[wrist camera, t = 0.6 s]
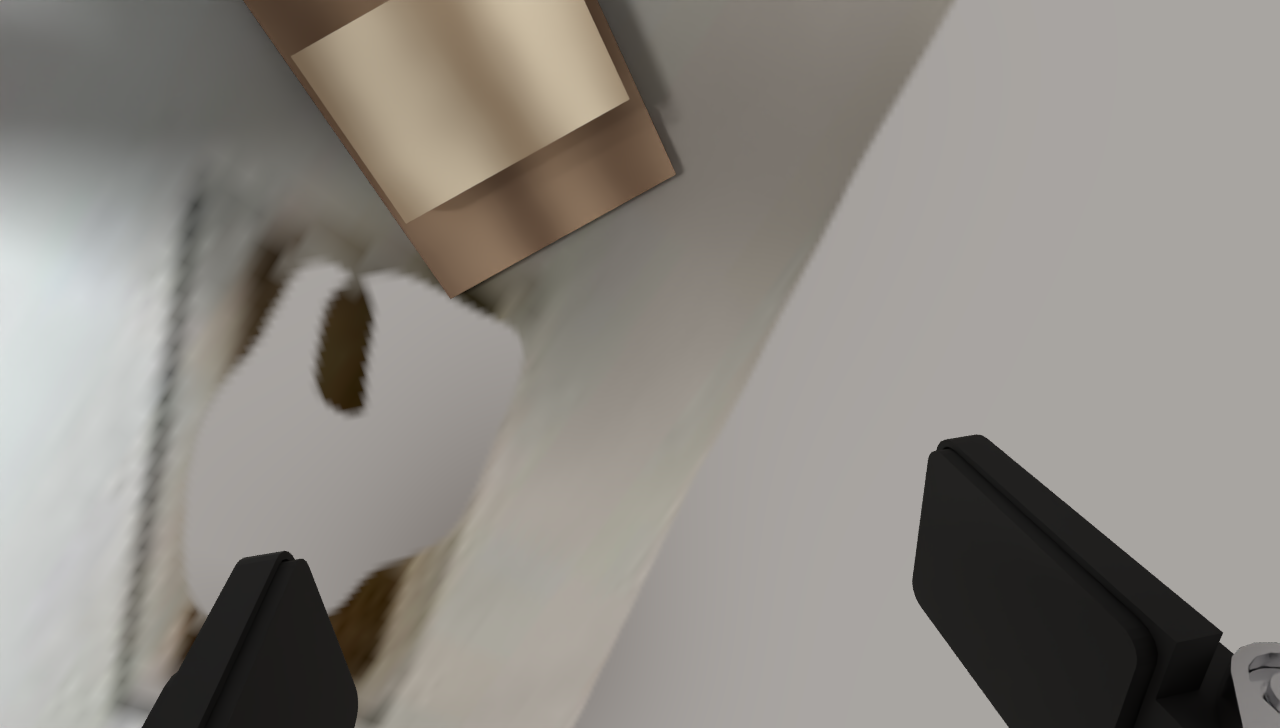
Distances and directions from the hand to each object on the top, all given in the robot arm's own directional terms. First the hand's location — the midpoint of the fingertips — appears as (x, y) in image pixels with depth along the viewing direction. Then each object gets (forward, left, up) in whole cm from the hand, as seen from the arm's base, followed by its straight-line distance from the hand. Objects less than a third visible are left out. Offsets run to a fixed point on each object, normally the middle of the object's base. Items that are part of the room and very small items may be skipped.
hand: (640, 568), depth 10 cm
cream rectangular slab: (0, +6, -28) cm, 29 cm away
